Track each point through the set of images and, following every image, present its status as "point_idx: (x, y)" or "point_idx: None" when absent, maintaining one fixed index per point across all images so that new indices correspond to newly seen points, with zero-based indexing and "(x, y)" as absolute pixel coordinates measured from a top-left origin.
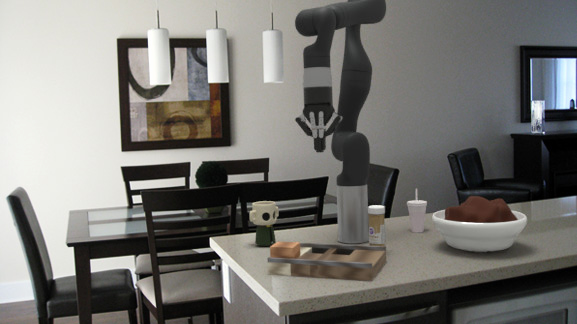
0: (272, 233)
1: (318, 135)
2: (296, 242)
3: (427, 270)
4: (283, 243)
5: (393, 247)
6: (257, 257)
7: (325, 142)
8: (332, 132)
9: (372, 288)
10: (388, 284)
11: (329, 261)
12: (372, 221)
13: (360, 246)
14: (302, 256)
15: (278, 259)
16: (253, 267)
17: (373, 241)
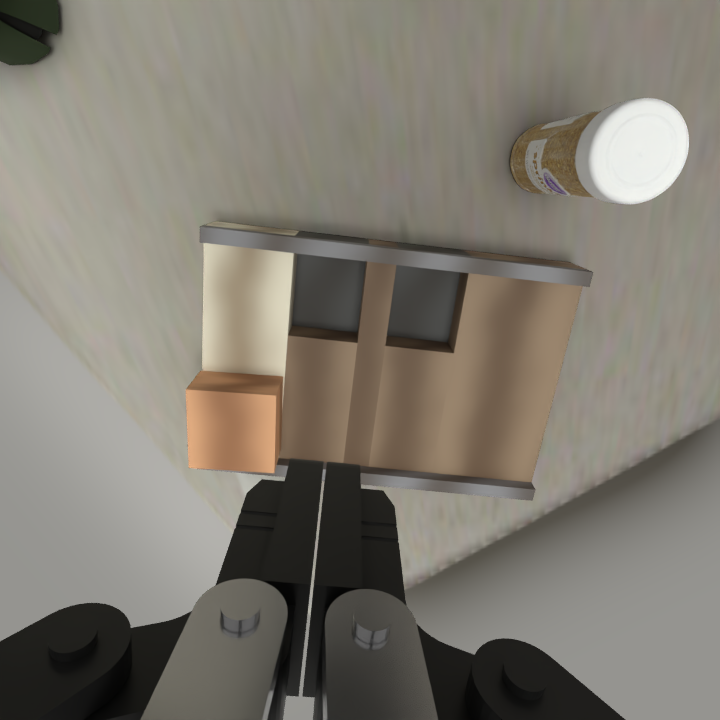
0: (21, 13)
1: (284, 697)
2: (263, 398)
3: (689, 356)
4: (219, 417)
5: (617, 9)
6: (84, 246)
7: (398, 563)
8: (575, 714)
9: (518, 526)
10: (560, 493)
11: (404, 485)
12: (580, 192)
13: (493, 275)
14: (292, 384)
15: (236, 471)
16: (133, 377)
17: (547, 192)
